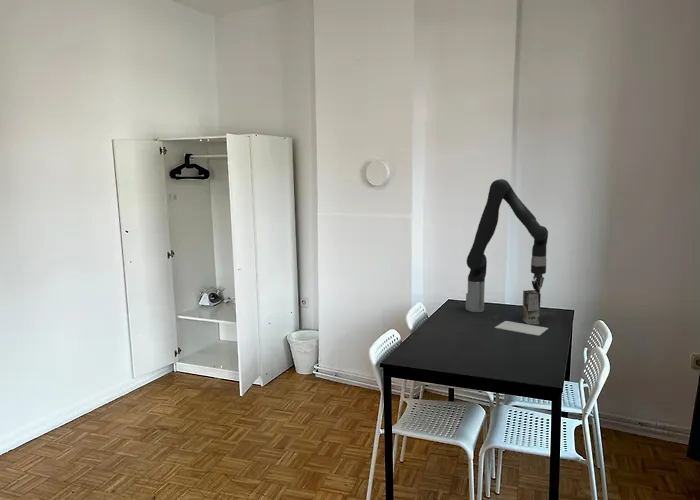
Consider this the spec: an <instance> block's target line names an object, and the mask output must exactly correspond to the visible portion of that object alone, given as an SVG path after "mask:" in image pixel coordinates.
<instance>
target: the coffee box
mask: <svg viewBox="0 0 700 500" xmlns="http://www.w3.org/2000/svg"><path fill="white" fill-rule="evenodd" d="M522 291H523V293H522V294H523V295H522V316H521V317H522V321H523V322H524V324H527V325H537V326H539V325H540V317H541V316H540V315H541V298H542V297H541V292H540V293H538V292H537V291H535V289H531V290H530V289H529V290H522Z"/></svg>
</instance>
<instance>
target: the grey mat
mask: <svg viewBox="0 0 700 500" xmlns="http://www.w3.org/2000/svg"><path fill="white" fill-rule="evenodd" d="M494 329H498V330H505V331H508V332H509V331H510V332H514V333H515V332H516V333H519V334H520V333H521V334H526V335H531V336H537V337H540V336H541V335H542V334H544V333H545V332H546V331H548V329H549V327H544V326H539V325H534V324H527V323H521V322H516V321H509V320H504V321H503V322H501V323H499V324H498V325H496V326H495V327H494Z"/></svg>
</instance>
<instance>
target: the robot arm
mask: <svg viewBox="0 0 700 500" xmlns="http://www.w3.org/2000/svg"><path fill="white" fill-rule="evenodd" d="M490 184H491V185H489V189H488V191H489V192H488V196H487V201H486V203H485V206H484V208H483V212H482V214H481V217H480V220H479V223H478V225H477V226H478V227H477V229H476V233H475V237H474V240H473V243H472V246H471V247H470V248H471V249H470V251H469V253H468V255H467V257H466V265H467V267H468V268H469V273H468V275H467V293H465V310H466V311H468V312H471V313H482V312H484V311H485V287H486V286H485V280H486V275H487V263H488V262H487V256H486V255H485V251H486V248H487V246H488V245H489V243H490V241H491V240H492V238H493V237H494V234H495V232H496V228H497V226H498V222H499V216H500V213H499V212H500V207H501V205H502V202H503V200H504V201H505V202H506V203H507V205H508V206H509V207H510V209H512V212H513V214H514V215H515V217H516V218H517V219H518V220H519V222H521V224H522V225H523V226H524V227H525V228H526V230H527V231H528V233H529V234H530V236H531V237H532V238H533V245H532V248H531V259H530V273H531V274H533V277H532V280H531V285H532V288H533V289H532V290H535V291H537V292H538V293H540V294H541V290H542V287H543V283H544V281H545V277H544V276H543V275H545V274H546V272H547V244H548V238H549V231H548V229H547V227H545V226H543V225H541V224H540V223H539V222H538V221H537V218H536V216H535V215H534V214H533V213H532V211H531V210H529V208H528V207H527V206H526V205H525V204H524V203H523V201H522V200H521V199H520V198H519V197H518V195H517V193H516V192H515V190H514V189H513V187H512V186H511V184H510V183H509V182H508V181H507V180H506V179H503V178H500V179H496V180H494V181H493V182H492V183H490Z"/></svg>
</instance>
